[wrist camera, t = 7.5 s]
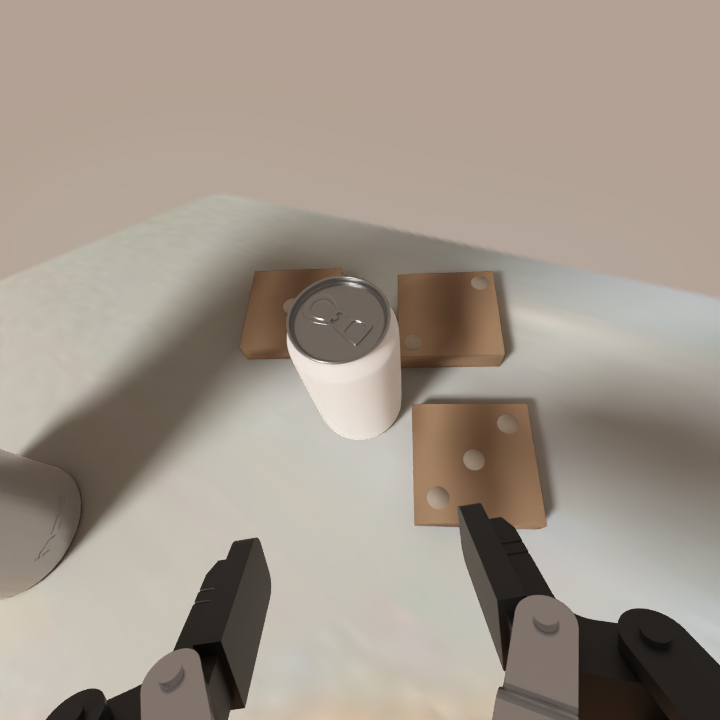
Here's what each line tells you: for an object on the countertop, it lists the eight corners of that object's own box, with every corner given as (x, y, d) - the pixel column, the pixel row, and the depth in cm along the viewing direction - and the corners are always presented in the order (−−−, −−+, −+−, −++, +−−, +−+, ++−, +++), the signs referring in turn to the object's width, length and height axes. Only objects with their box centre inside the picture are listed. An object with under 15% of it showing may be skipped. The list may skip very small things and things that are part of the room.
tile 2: (398, 367, 33) (398, 355, 31) (398, 289, 37) (397, 274, 35) (499, 366, 32) (505, 353, 30) (488, 286, 36) (493, 270, 34)
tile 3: (414, 525, 27) (415, 522, 25) (412, 413, 31) (412, 403, 29) (537, 529, 26) (547, 526, 25) (520, 413, 30) (527, 403, 28)
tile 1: (247, 359, 35) (239, 347, 33) (262, 285, 39) (254, 271, 37) (339, 357, 34) (335, 345, 32) (344, 282, 38) (341, 267, 36)
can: (355, 352, 34) (331, 252, 24) (418, 393, 32) (423, 303, 21) (304, 409, 32) (253, 329, 22) (367, 459, 30) (345, 395, 19)
